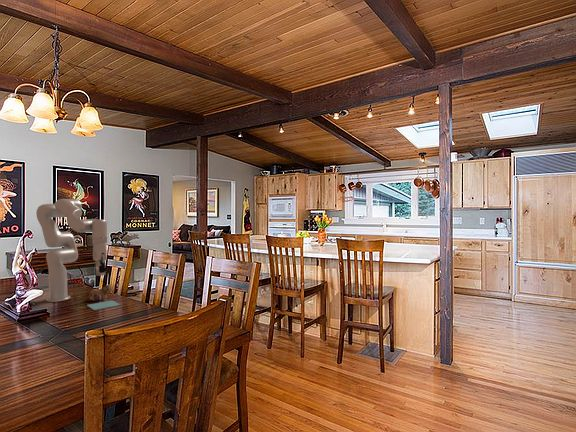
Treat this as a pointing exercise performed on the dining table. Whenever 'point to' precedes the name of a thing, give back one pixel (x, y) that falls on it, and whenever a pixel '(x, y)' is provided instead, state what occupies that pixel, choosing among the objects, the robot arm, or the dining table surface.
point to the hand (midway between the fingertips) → (100, 271)
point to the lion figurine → (100, 292)
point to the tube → (98, 269)
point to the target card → (103, 305)
